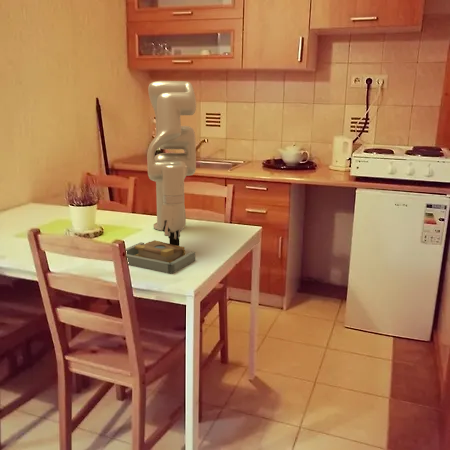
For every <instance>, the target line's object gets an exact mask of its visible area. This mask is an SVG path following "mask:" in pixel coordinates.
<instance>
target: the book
mask: <svg viewBox="0 0 450 450" xmlns="http://www.w3.org/2000/svg"><path fill="white" fill-rule="evenodd" d="M135 249H138V250H139V251H138V252H139V253H138V254H136V255H134V256H139V257H144V258H149V259H154V260H159V261H164V262H169V263H171V262H173V261H175V260H176V259H178V258H180V257H182V256H184V255H186V248H185V246H180V245H179V246H177V245H172V244H170V243H168V242H164V241H163V242H162V241H159V240H155V239H154V240H151V241H148V242H146V243H144V244H142V245H140V244H139V245H137V246H135Z"/></svg>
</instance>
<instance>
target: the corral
mask: <svg viewBox="0 0 450 450" xmlns="http://www.w3.org/2000/svg"><path fill="white" fill-rule="evenodd" d="M139 244H140V245H142V244H145V242H141V241H140V242H138V243H136V244H134V245H132V246H129V247H126V248H125V249H126V251H127V258H128V262H129V266H133V267H138V268H143V269H147V270H153V271H157V272H162V273H167V274H171V275H172V274H174V273H177V271H179V270H181V269H183V268H184V267H187V266H188V265H189V264H192V263H193V262H195V261H196V251H190V252H188V253H185V255H184V256H182V257H180V258H178V259H176V260H175V261H173V262H171V263H169V262H164V261H159V260H154V259H149V258H144V257H139V256H135V255H136V254H139V252H138V251H139V250H138V249H135V246H137V245H139Z"/></svg>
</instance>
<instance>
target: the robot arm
mask: <svg viewBox="0 0 450 450" xmlns="http://www.w3.org/2000/svg"><path fill="white" fill-rule="evenodd" d="M194 90H195V89H194V86H193V84H192V83H191V82H190V81H183V80H180V81H179V80H178V81H177V80H158V81H157V80H156V81H152V82H151V83H149V85H148V88H147V91H148V98H149V101H150V104H151V107H152V108H153V112H154V115H155V117H154V118H155V137H154V138H153V139H152V140H151V142H150V144H149V146H148V148H147V155H146V160H147V161H146V162H147V165H146V167H147V169H146V170H147V176H148V179H149V180H150V181H153V182H155V188H156V189H155V193H156V223H154V224H153V229H155V230H157V231H161V232H164V236H165V237H168V239H169V240H168V241H169V244H172V245H177V246H180V237H181V233H182V231H183V230H184V227H186V223H187V220H186V219H187V217H186V206H185V179H186V177H188V176H193V175H194V174H195V173H196V170H197V155H196V154H197V153H196V152H197V148H196V147H197V146H196V144H197V143H196V134H195V130H194V128H193V127H191V126H189V125H182V124H181V123H182V122H181V118H182V117H181V116H193V115H195V113H196V111H197V99H196V94H195V91H194ZM158 149H161V150H181V151H184V152H162V153H158V154H156V151H157V150H158ZM155 154H156V155H155Z"/></svg>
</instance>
